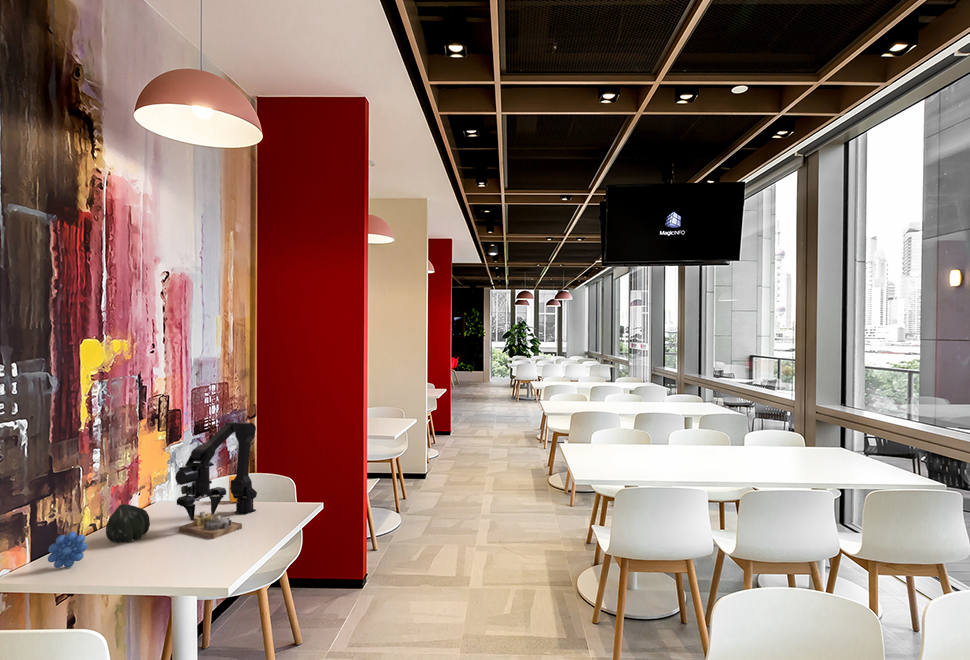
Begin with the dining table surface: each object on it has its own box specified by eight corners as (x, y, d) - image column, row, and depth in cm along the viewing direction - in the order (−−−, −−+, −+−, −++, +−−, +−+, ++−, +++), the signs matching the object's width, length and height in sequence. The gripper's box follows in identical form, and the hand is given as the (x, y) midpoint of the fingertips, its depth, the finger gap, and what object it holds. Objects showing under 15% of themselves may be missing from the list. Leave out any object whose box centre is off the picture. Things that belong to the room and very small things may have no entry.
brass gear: (205, 519, 238) (204, 512, 238) (216, 522, 235) (215, 514, 235) (189, 524, 232) (189, 517, 232) (200, 527, 229) (200, 519, 229)
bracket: (247, 501, 272) (246, 476, 272) (230, 504, 269) (230, 478, 269) (245, 496, 281) (244, 472, 282) (229, 498, 278) (228, 474, 278)
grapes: (92, 560, 201) (92, 526, 201) (85, 567, 194) (84, 532, 194) (53, 565, 197) (52, 530, 197) (44, 572, 191) (44, 536, 191)
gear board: (208, 522, 242) (208, 506, 242) (241, 528, 232) (241, 512, 232) (179, 531, 230) (179, 515, 230) (213, 538, 220) (213, 521, 220)
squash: (161, 516, 232) (132, 492, 229) (152, 529, 218) (121, 503, 215) (132, 543, 229) (102, 518, 226) (121, 558, 215) (89, 532, 211)
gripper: (209, 472, 246) (210, 508, 245) (167, 482, 229) (168, 521, 229) (226, 474, 240) (227, 511, 240) (185, 485, 224) (186, 525, 224)
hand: (202, 517), depth 233 cm, fingers open, 9 cm apart
